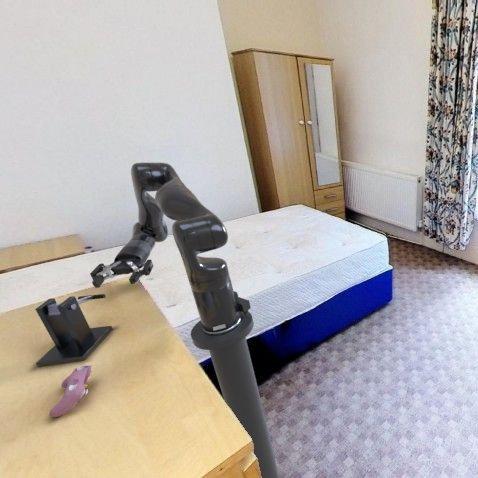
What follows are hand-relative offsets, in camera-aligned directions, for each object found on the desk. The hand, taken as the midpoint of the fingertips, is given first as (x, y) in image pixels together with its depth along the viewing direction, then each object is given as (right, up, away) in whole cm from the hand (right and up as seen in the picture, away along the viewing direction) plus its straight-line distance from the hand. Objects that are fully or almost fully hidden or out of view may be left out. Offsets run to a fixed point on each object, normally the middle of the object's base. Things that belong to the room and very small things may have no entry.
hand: (113, 283), depth 97 cm
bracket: (+5, -14, -15) cm, 21 cm away
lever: (+4, -4, -14) cm, 16 cm away
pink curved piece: (+19, -21, -28) cm, 40 cm away
